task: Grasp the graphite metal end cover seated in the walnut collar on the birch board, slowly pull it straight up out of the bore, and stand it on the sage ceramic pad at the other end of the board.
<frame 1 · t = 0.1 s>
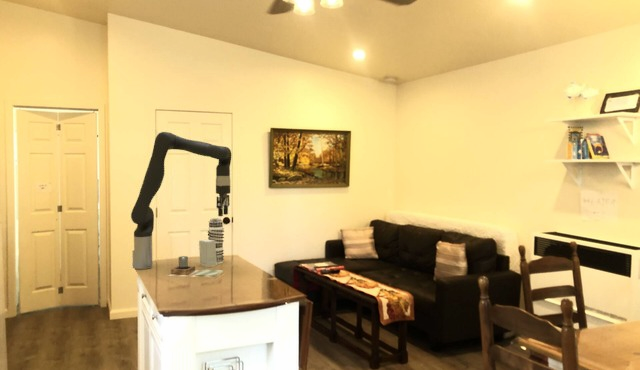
hand: (223, 215, 251), 29 cm above the countertop, fingers open, 8 cm apart
decorative candle: (216, 262, 273), on the countertop
skincare box: (207, 267, 260), on the countertop
caddy: (195, 275, 241), on the countertop
end cover: (183, 272, 242), point 1 cm above the countertop, touching caddy
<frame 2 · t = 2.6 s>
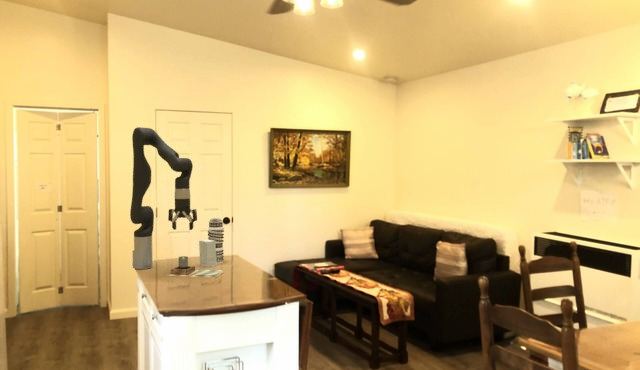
hand: (182, 229, 241), 23 cm above the countertop, fingers open, 8 cm apart
nothing on the countertop moved.
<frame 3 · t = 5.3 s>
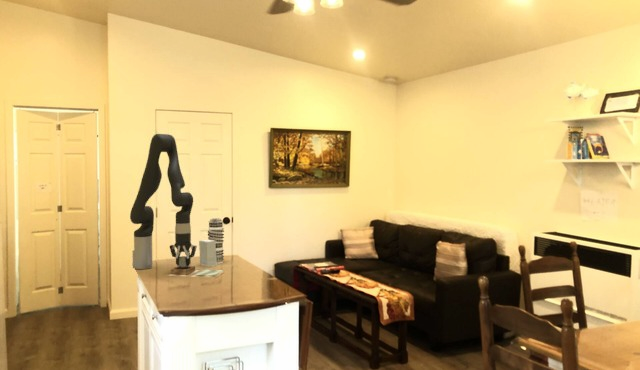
hand: (183, 265, 242), 5 cm above the countertop, fingers closed on end cover, 4 cm apart
end cover: (183, 272, 242), point 1 cm above the countertop, touching caddy, gripper
everything else where it was.
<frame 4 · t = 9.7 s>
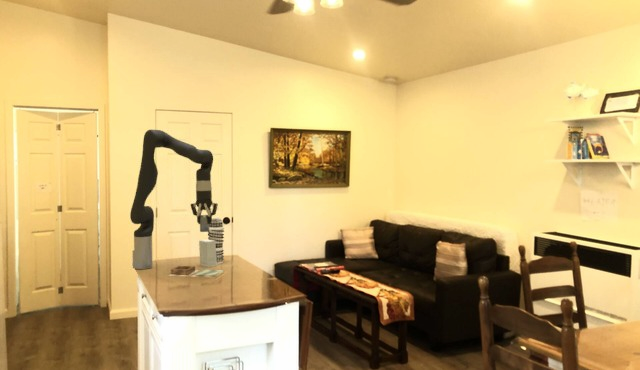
hand: (204, 223, 239), 26 cm above the countertop, fingers closed on end cover, 4 cm apart
end cover: (204, 231, 239), point 22 cm above the countertop, touching gripper
everything else where it was.
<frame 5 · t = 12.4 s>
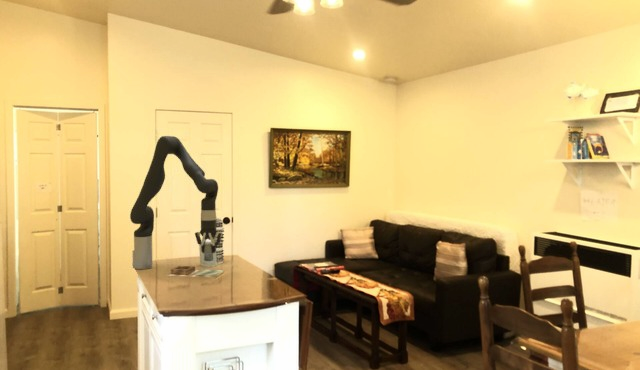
hand: (208, 252, 240), 12 cm above the countertop, fingers closed on end cover, 4 cm apart
end cover: (208, 260, 240), point 8 cm above the countertop, touching gripper
everything else where it was.
when the fingers open (7 cm above the countertop, at t = 14.3 s): end cover drops 1 cm, resting on caddy.
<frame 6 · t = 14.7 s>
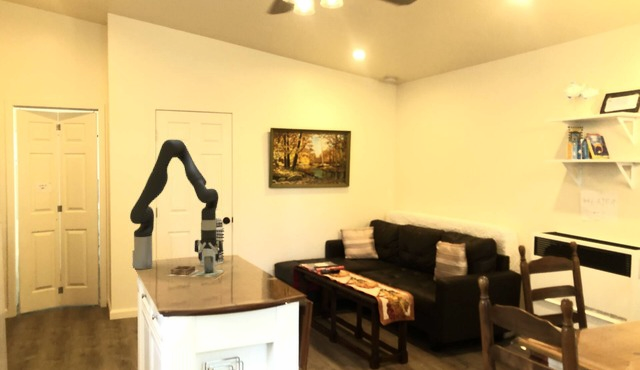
hand: (208, 260, 240), 8 cm above the countertop, fingers open, 8 cm apart
end cover: (208, 272, 240), point 2 cm above the countertop, touching caddy
everything else where it was.
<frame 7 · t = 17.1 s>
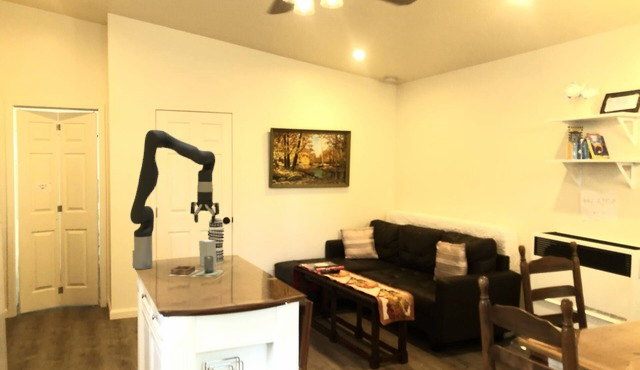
hand: (204, 222, 241), 27 cm above the countertop, fingers open, 8 cm apart
nothing on the countertop moved.
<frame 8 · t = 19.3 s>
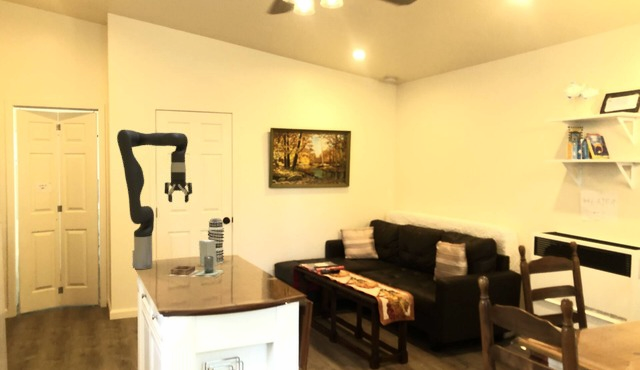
hand: (178, 202, 250), 36 cm above the countertop, fingers open, 8 cm apart
nothing on the countertop moved.
at the end: end cover 0.0 cm from the target spot on the caddy, point 1.6 cm above the caddy's base; end cover tilted 0°; the gripper is holding nothing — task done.
